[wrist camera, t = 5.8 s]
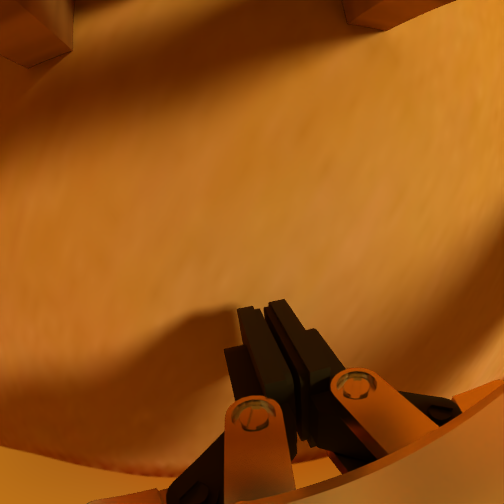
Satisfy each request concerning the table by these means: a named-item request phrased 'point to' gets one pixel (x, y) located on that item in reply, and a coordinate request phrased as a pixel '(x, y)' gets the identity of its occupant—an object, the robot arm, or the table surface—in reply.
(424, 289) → the table surface
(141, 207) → the table surface
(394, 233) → the table surface
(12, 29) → the bridge
